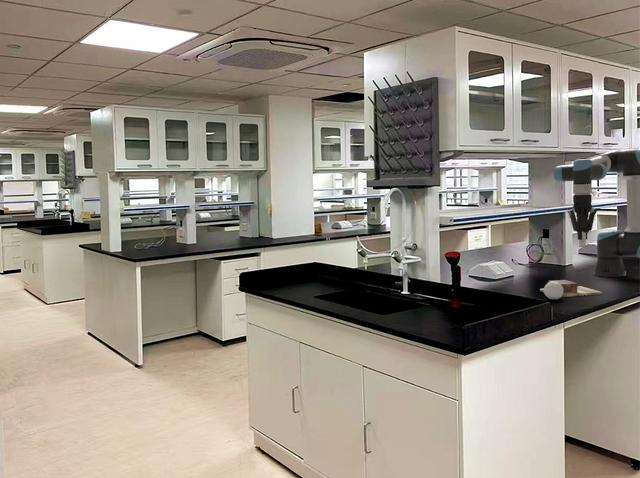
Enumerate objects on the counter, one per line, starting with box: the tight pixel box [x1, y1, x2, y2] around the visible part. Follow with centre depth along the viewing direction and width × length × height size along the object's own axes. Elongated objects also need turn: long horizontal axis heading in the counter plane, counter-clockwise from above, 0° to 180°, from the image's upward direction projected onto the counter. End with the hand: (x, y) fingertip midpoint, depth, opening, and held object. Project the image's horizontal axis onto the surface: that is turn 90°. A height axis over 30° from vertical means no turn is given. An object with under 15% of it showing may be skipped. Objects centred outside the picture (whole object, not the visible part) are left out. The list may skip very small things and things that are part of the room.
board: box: [539, 285, 603, 298], centre depth 254 cm, size 20×16×1 cm
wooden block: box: [547, 279, 578, 293], centre depth 254 cm, size 4×10×8 cm
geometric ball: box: [543, 280, 563, 300], centre depth 241 cm, size 8×8×8 cm
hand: (582, 246), depth 254 cm, fingers closed
